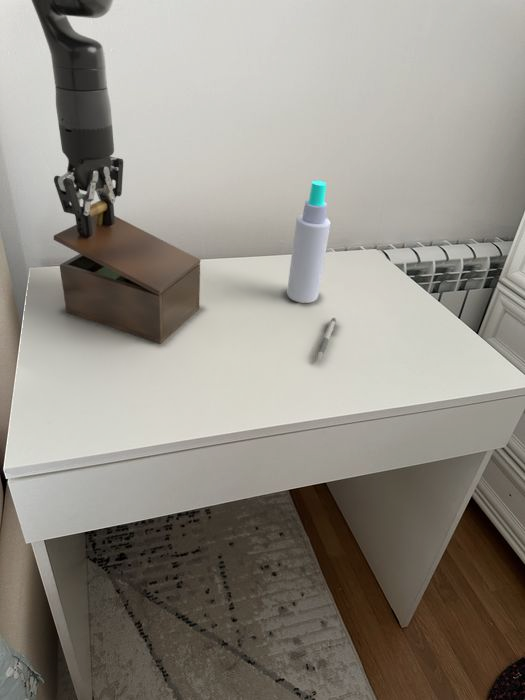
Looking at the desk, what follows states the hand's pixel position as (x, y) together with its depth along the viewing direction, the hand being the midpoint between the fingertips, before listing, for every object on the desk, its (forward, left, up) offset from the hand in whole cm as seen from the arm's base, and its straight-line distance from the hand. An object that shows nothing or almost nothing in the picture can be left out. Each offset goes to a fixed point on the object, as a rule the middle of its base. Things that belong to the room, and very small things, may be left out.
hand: (97, 229), depth 88 cm
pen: (+30, -27, -14) cm, 42 cm away
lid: (+4, -5, -2) cm, 7 cm away
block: (+1, -1, -13) cm, 13 cm away
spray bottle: (+35, -12, -14) cm, 39 cm away
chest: (+4, -5, -13) cm, 15 cm away
